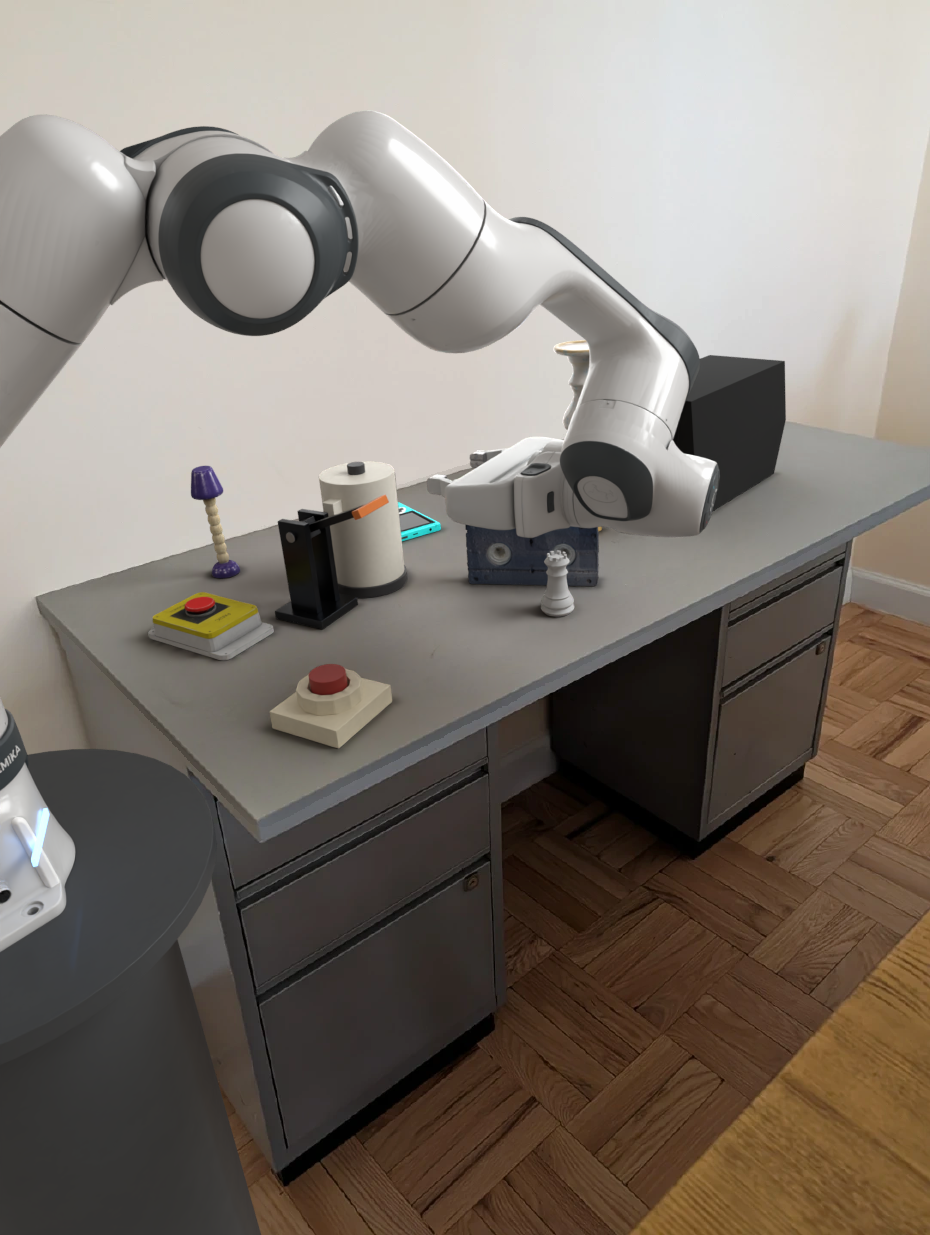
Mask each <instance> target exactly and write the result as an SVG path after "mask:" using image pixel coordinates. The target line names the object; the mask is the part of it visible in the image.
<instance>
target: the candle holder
mask: <svg viewBox="0 0 930 1235" xmlns="http://www.w3.org/2000/svg"><path fill="white" fill-rule="evenodd" d="M553 352H554V353H555V354H556V355H559V356H564V357H566V358H567V361H568V363H569V364H570V365H571V368H572V373H571V376H570V378H569V379H568V381H567V384H568V385H569V386H570V389H571V391H572V394H573V396H572V399H571V402H570V403H569V405H568V406H567V408H566V410H565V412H564V413H563V417H562V425H563V427H564V429H565V430H566V431H567V430H568V427H569V424H570V421H571V418H572V416H573V413H574V411H575V409H576V406H577V404H578V401H579V398H580V395H581V392H582V389H583V386H584V384H585V381H586V378H587V375H588V371H589V363H590V353H589V346H588V343H587V341H586V340H585V339H583V340H581V339H580V340H568V341H563V342H560V343H557V344H555V345H554V346H553Z"/></svg>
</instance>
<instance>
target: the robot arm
mask: <svg viewBox="0 0 930 1235" xmlns="http://www.w3.org/2000/svg"><path fill="white" fill-rule="evenodd" d="M164 280H165V281H167V283H168V284H169V286H171V289H172V290H173V292H174V293H175V295H176V296H177V297H178V298H179V300H180V301H181V303H183V305H184V306H185V307H186V308H187V309H188V310H189V311H191V312H192V313H193V314H194V315H196V316H197V317H199V319H201V320H203V321H204V322H206V323H208V324H210V325H211V326H213V327H215V328H217V329H220V330H222V331H225V332H228V333H231V334H235V335H240V336H246V337H262V336H263V337H264V336H270V335H274V334H277V333H280V332H283V331H285V330H287V329H289V328H291V327H294V326H295V325H296V324H299V323H300V322H301V321H302V320H304V319H305V318H306V317H307V316H308V315H310V314H311V313H312V312H313V311H314V310H315V309H316V308H317V307H318V306H319V305H320V304H321V303H322V302H323V301H324V300H325V299H326V298H328V297H329V296H331V295H332V294H333V293H335V292H337V291H338V290H339V289H341V288H342V287H344V286H345V285H346V284H348V283H349V284H351V285H352V286H354V287H355V288H356V289H357V290H358V291H359V292H360V293H362V294H363V295H364V296H365V297H366V298H367V299H368V300H369V301H370V302H371V303H372V304H373V305H375V307H377V309H379V310H380V311H381V312H382V313H383V314H384V315H385V316H386V317H388V318H389V320H391V322H393V323H394V324H395V325H396V326H397V327H398V328H400V330H402V331H403V332H404V333H405V334H406V335H408V336H409V337H410V338H411V339H413V340H414V341H416V342H417V343H419V344H421V345H422V346H424V347H425V348H428V349H429V350H432V351H435V352H437V353H443V354H453V355H454V354H455V355H456V354H467V353H471V352H477V351H479V350H482V349H485V348H487V347H490V346H492V345H493V344H496V343H497V342H499V341H501V340H502V339H504V338H506V337H508V336H510V334H512V333H513V332H514V331H516V330H517V329H518V328H519V327H520V326H522V325H523V324H524V322H525V321H526V320H528V318H529V317H530V316H531V315H532V313H534V312H535V311H536V310H537V308H538V307H539V306H541V307H543V309H545V310H546V311H547V312H549V313H550V314H552V315H553V316H554V317H555V318H557V319H558V320H559V321H561V322H562V324H564V325H566V326H567V327H568V328H570V329H571V331H573V332H574V333H576V334H577V335H578V336H580V337H581V338H582V339H583V340H586V341H587V343H588V346H589V353H590V363H589V371H588V375H587V378H586V381H585V384H584V386H583V389H582V392H581V395H580V398H579V401H578V404H577V406H576V409H575V411H574V413H573V416H572V418H571V421H570V424H569V427H568V430H566V434H565V436H564V438H563V439H559V438H553V437H547V436H529V437H524V438H523V439H521V440H520V441H518V442H516V443H515V444H513V445H512V446H510V447H505V448H497V449H492V450H483V449H482V450H481V449H477V450H475V451H474V452H472V453H471V454H469V460H470V461H469V466H470V467H471V468H472V470H470V471H469V472H467V473H466V474H464V475H462V476H461V477H459V478H454V479H453V480H452V479H449V478H448V475H445V474H434V475H432V476H430V477H429V478H427V480H426V487H427V488H426V489H427V492H428V493H429V494H431V495H436V496H441V497H442V498H444V504H445V512H446V516H447V517H448V518H449V519H450V520H451V521H453V522H454V523H457V524H461V525H464V526H465V525H470V526H475V527H481V528H487V529H494V530H511V529H515V528H516V533H517V535H518V536H520V537H526V538H533V537H537V536H539V535H542V534H544V533H547V532H550V531H553V530H556V529H563V528H569V527H570V526H573V527H581V528H595V527H602V528H608V529H611V530H614V531H616V532H618V533H622V534H626V535H634V536H642V537H654V538H655V537H656V538H688V537H696V536H699V535H700V534H702V532H703V531H704V530H705V529H706V528H707V526H708V524H709V522H710V519H711V516H712V512H713V511H712V510H713V506H714V503H715V500H716V493H717V490H718V486H719V479H720V472H719V468H718V464H717V463H716V462H715V461H712V460H710V459H706V458H702V457H698V456H694V455H689V454H684V453H682V452H681V451H680V450H679V449H678V447H677V446H676V445H675V443H674V441H673V438H674V435H675V432H676V428H677V425H678V422H679V419H680V416H681V412H682V409H683V406H684V403H685V401H686V399H687V397H688V395H689V393H690V390H691V388H692V386H693V383H694V381H695V378H696V376H697V374H698V371H699V368H700V354H699V351H698V350H697V346H696V345H695V343H694V341H693V340H692V339H691V337H690V336H689V334H688V333H687V332H686V331H685V330H684V329H683V328H682V327H681V326H680V325H678V324H677V323H676V322H674V321H673V320H671V319H670V318H668V317H666V316H664V315H662V314H661V313H658V312H657V311H655V310H653V309H651V308H650V307H648V306H647V305H646V304H644V303H643V302H642V301H641V300H640V299H638V298H637V297H636V296H635V295H634V294H633V293H631V292H630V291H629V290H628V289H627V288H626V287H625V286H623V285H622V284H621V283H620V282H619V281H618V280H617V279H615V278H614V277H613V276H612V275H611V274H610V273H609V272H607V271H606V269H604V268H603V267H602V266H600V264H598V263H597V262H596V261H595V260H594V259H593V258H592V257H590V255H588V254H587V253H586V252H584V251H583V250H582V249H581V248H580V247H578V246H577V245H576V244H575V243H574V242H573V241H572V240H570V239H569V238H568V237H566V236H565V235H563V234H562V233H561V232H559V231H558V230H557V229H555V228H554V227H552V226H551V225H549V224H548V223H545V222H543V221H542V220H538V219H536V218H534V217H533V218H532V217H527V216H515V217H512V218H506V217H505V216H503V215H501V214H500V213H498V212H497V211H496V210H495V209H494V208H492V207H491V205H490V204H488V202H487V201H486V200H485V199H484V198H483V197H482V196H481V195H480V194H479V193H478V192H477V191H476V189H475V188H474V187H473V186H472V185H471V184H470V183H469V182H468V181H467V179H466V178H464V177H463V176H462V175H461V174H460V173H459V172H458V171H457V169H455V168H454V167H453V166H452V165H451V164H450V163H449V162H448V161H447V160H446V159H445V158H444V157H442V156H441V155H440V154H439V153H438V152H437V151H436V150H434V149H433V148H432V147H431V146H429V145H428V144H427V143H426V142H425V141H424V140H423V139H421V138H420V137H418V136H417V135H416V134H415V133H413V132H412V131H411V130H409V129H408V128H407V127H405V126H404V125H403V124H401V122H398V121H397V120H396V119H395V118H393V117H391V116H389V115H388V114H385V113H383V112H380V111H376V110H358V111H354V112H350V113H349V114H346V115H343V116H342V117H340V118H338V119H337V120H335V121H332V122H331V123H330V124H329V125H328V126H327V127H326V128H324V129H323V130H322V131H321V132H320V133H319V134H318V136H317V137H316V138H314V140H313V142H312V143H311V145H310V146H309V148H308V150H304V151H303V152H302V153H300V154H299V155H296V156H293V157H281V156H279V155H278V154H276V153H274V152H273V151H271V150H270V149H269V148H267V147H265V146H264V145H262V144H260V143H259V142H257V141H254V140H253V139H251V138H248V137H245V136H243V135H240V134H238V133H236V132H234V131H232V130H229V129H226V128H222V127H218V126H210V125H209V126H207V125H203V126H202V125H200V126H199V125H198V126H191V127H185V128H181V129H178V130H174V131H171V132H168V133H165V134H163V135H161V136H158V137H155V138H152V139H148V140H145V141H142V142H138V143H136V144H132V145H129V146H125V147H124V148H122V149H120V150H119V149H117V148H116V147H115V146H114V145H112V144H111V143H110V142H109V141H108V140H107V139H105V138H104V137H103V136H101V135H100V134H98V133H97V132H95V131H93V129H90V128H89V127H86V126H85V125H83V124H81V123H79V122H76V121H74V120H71V119H68V118H66V117H62V116H58V115H54V114H34V115H28V116H27V117H24V118H22V119H20V120H19V121H17V122H15V123H13V125H12V126H10V127H9V128H8V129H7V130H6V131H5V132H3V133H2V134H1V135H0V449H1V448H2V446H4V444H5V443H6V441H8V439H9V437H10V436H11V435H12V434H13V433H14V431H15V430H16V429H17V427H18V426H19V425H20V424H21V422H22V421H23V420H24V418H25V417H26V416H27V415H28V413H29V412H30V411H31V410H32V408H33V407H34V405H36V404H37V402H38V401H39V400H40V398H41V397H42V395H43V394H44V393H45V392H46V390H47V389H48V388H49V387H50V386H51V385H52V383H53V382H54V381H55V379H56V378H57V377H58V376H59V374H60V373H61V372H62V370H63V369H64V368H65V367H66V365H67V364H68V363H69V361H70V360H71V359H72V358H73V356H74V355H75V354H76V352H77V351H78V350H79V349H80V348H81V346H82V345H83V343H84V342H85V341H86V339H87V338H88V337H89V336H90V334H91V332H92V331H93V330H95V329H94V328H96V326H97V325H98V323H99V322H100V321H101V319H102V318H103V316H104V314H105V313H106V312H107V310H108V308H110V306H114V305H115V304H116V303H117V302H118V301H119V300H120V299H121V298H122V297H124V296H125V295H127V294H128V293H129V292H131V291H133V290H135V289H136V288H139V287H141V286H143V285H147V284H150V283H155V282H163V281H164ZM28 755H29V754H28V752H27V750H26V747H25V743H24V740H23V737H22V735H21V732H20V730H19V727H18V725H17V723H16V719H15V717H14V715H13V714H12V713H11V711H9V709H7V708H6V707H5V705H4V703H3V700H2V697H1V696H0V952H1V951H3V950H4V949H6V948H8V947H9V946H11V945H12V944H14V943H16V942H17V941H19V940H20V939H22V938H24V937H25V936H27V935H28V934H30V933H32V932H33V931H35V930H36V929H38V928H40V927H41V926H43V925H44V924H46V923H48V922H49V921H51V920H52V919H54V918H55V917H57V916H58V915H60V914H61V913H62V912H63V910H64V909H65V906H66V892H65V883H66V880H67V878H68V876H69V874H70V872H71V869H72V867H73V864H74V860H75V845H74V842H73V840H72V838H71V837H70V836H69V835H68V833H67V832H66V831H65V830H64V829H63V828H62V827H61V825H60V824H59V823H58V822H57V820H56V819H55V817H54V816H53V814H52V813H51V812H50V810H49V808H48V807H47V805H46V803H45V802H44V800H43V798H42V796H41V794H40V793H39V791H38V789H37V787H36V785H35V783H34V781H33V779H32V776H31V774H30V772H29V770H28V768H27V767H28V764H29V761H28Z"/></svg>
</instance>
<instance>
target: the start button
mask: <svg viewBox="0 0 930 1235" xmlns="http://www.w3.org/2000/svg"><path fill="white" fill-rule="evenodd" d="M345 669H346V668H345V667H344V666H343V665H340V664H337V663H326V664H321V665H318V666H316V667H314V668H313V669H311V670H310V671H309V673H308V674H309V682H310V688H311V692H312V693H313V694H317V695H332V694H335V693H338V692H341V691H343V690H344V689H346V688H347V686H348V683H347V676H346V670H345Z"/></svg>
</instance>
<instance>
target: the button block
mask: <svg viewBox="0 0 930 1235" xmlns="http://www.w3.org/2000/svg"><path fill="white" fill-rule="evenodd" d="M345 670H346V676H347V683H348V686H347V688H346V689H344V690H343V691H341V692H338V693H335V694H332V695H317V694H313V693H312V692H311V688H310V682H309V673H308V674H306V675H305V676H304V677H302V678H301V679H300V680H299V681H298V682H297V685H296V689H295V692H293V693H292V694H291V695H290V696H288V697H287V698H286V699H284V700H283V701H282V702H280V703H278V705H276V706H275V707H273V708H272V709H271V710H269V718H270V722H271V729H273V730H277V731H280V732H283V733H286V734H290V735H293V736H296V737H300V738H302V739H306V740H309V741H312V742H316V743H319V744H323V745H325V746H329V747H332V748H336V749H340V748H341V747H343V745H345V744H346V743H347V742H349V740H351V739H352V738H353V737H354V736H355V735H356V734H357V733H359V731H361V730H362V729H363V728H364V727H365V726H367V724H369V723H370V722H371V721H372V720H373V719H375V718H376V717H377V716H378V715H379V714H380V713H381V712H382V711H384V710H385V709H386V708H387V707H388V706H389V705H390V704H392V703H393V695H392V688H391V687H392V686H391V684H389V683H385V682H379V681H376V680H372V679H369V678H364V677H361V676H360V675H359V674H358V673H357V672H356V671H355V670H351V669H348V668H345Z"/></svg>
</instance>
